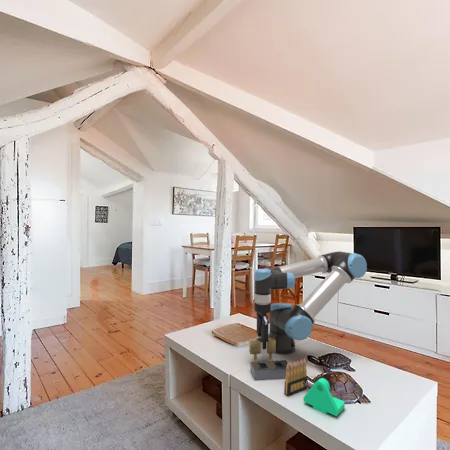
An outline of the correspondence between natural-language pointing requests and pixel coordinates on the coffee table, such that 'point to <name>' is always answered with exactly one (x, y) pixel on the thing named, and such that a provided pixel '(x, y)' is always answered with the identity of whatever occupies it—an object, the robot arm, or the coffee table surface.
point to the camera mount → (323, 398)
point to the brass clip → (256, 348)
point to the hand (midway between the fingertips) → (262, 352)
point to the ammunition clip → (295, 378)
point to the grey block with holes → (269, 370)
